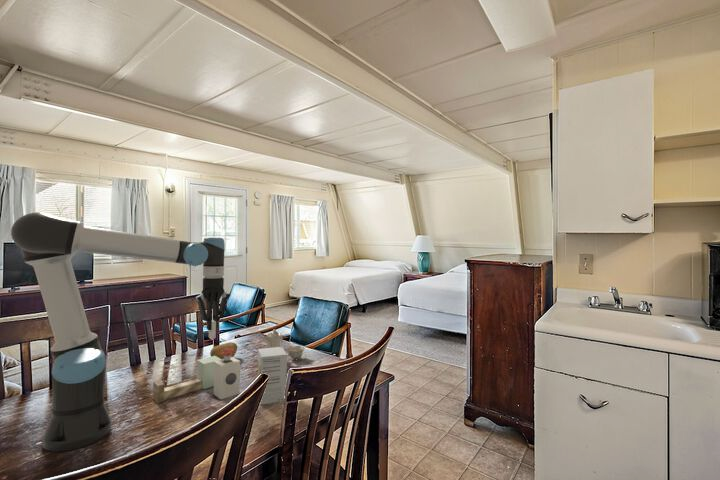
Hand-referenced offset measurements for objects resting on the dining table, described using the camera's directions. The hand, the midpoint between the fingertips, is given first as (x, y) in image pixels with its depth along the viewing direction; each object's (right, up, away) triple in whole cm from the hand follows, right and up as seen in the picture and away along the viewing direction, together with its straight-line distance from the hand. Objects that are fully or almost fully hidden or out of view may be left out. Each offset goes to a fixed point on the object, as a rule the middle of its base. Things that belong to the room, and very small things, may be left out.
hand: (212, 337), depth 132 cm
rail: (-5, -19, -4) cm, 20 cm away
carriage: (-1, -19, +1) cm, 19 cm away
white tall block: (+8, -19, -7) cm, 22 cm away
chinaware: (+21, -19, +23) cm, 37 cm away
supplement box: (+25, -19, -9) cm, 33 cm away
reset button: (+8, -7, -7) cm, 13 cm away
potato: (-6, -19, +27) cm, 33 cm away
